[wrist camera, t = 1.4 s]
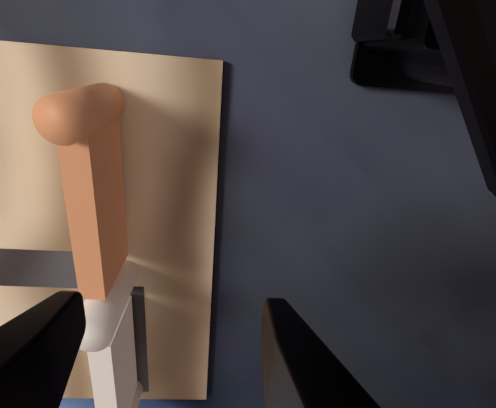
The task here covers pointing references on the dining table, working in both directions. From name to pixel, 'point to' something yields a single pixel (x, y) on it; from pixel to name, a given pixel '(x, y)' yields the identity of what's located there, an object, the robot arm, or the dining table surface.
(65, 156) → the gate panel
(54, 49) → the card
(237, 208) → the dining table surface
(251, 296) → the dining table surface
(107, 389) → the fence fixed
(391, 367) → the dining table surface
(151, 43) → the dining table surface
